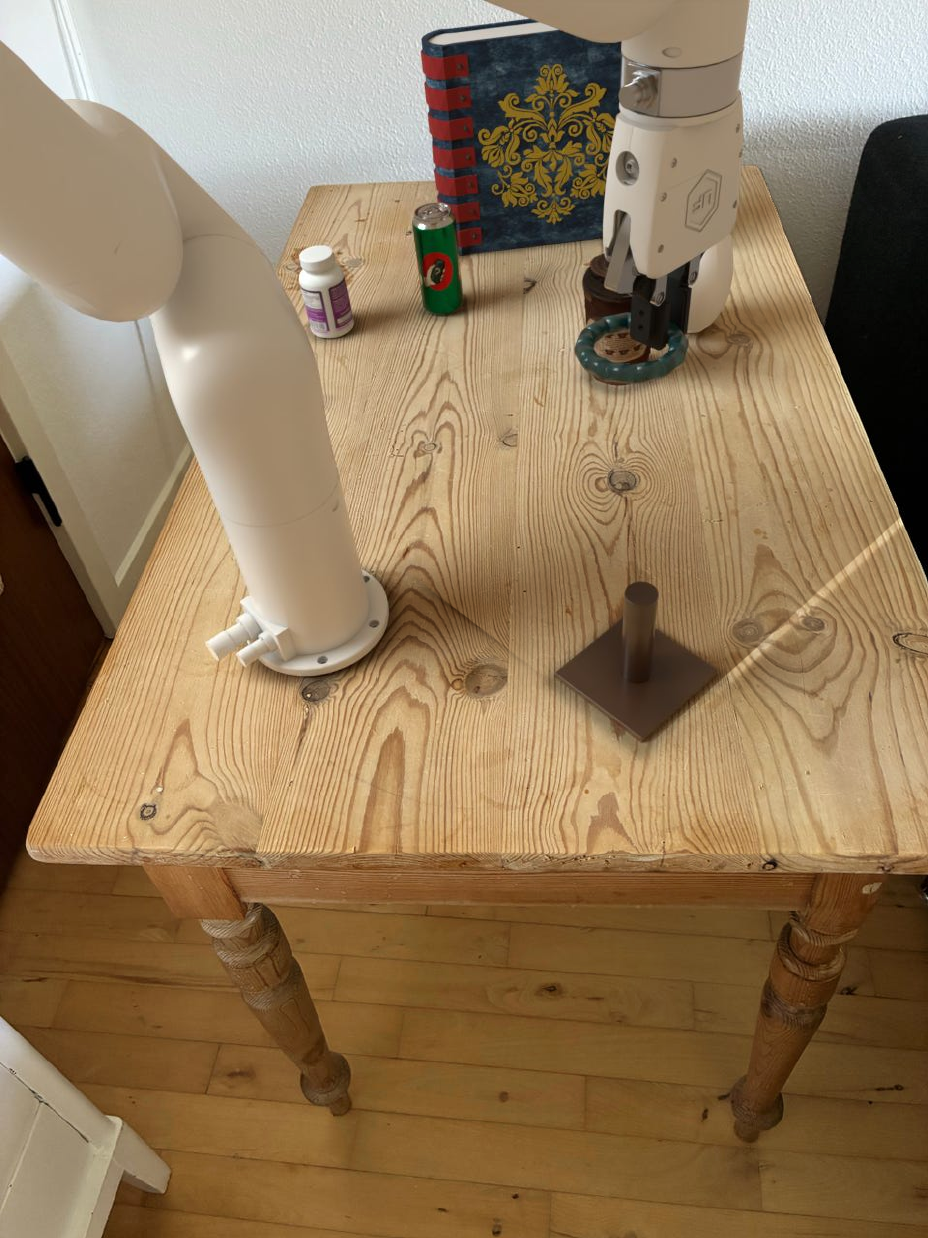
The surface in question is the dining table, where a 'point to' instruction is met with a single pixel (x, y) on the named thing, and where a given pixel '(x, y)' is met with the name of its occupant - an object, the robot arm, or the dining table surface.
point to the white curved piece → (711, 285)
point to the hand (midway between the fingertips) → (658, 335)
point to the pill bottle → (325, 293)
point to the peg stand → (636, 668)
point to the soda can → (438, 258)
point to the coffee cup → (608, 304)
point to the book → (521, 131)
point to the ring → (624, 370)
